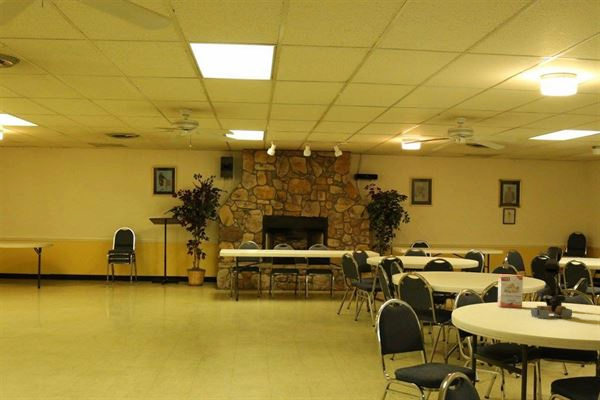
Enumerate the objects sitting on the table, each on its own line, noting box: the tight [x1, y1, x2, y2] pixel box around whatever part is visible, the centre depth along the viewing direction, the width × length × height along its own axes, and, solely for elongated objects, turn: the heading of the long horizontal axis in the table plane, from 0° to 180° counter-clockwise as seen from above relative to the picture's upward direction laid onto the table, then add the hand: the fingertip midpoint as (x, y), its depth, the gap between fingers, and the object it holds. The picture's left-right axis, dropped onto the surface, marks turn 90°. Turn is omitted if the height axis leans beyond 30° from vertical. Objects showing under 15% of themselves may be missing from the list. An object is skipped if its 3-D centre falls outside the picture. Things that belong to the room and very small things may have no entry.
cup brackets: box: [530, 307, 573, 320], centre depth 324 cm, size 22×8×5 cm, turn 98°
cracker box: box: [497, 273, 524, 309], centre depth 359 cm, size 14×6×21 cm, turn 88°
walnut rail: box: [536, 305, 567, 315], centre depth 324 cm, size 16×4×4 cm, turn 98°
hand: (551, 311), depth 324 cm, fingers closed on walnut rail, 3 cm apart
